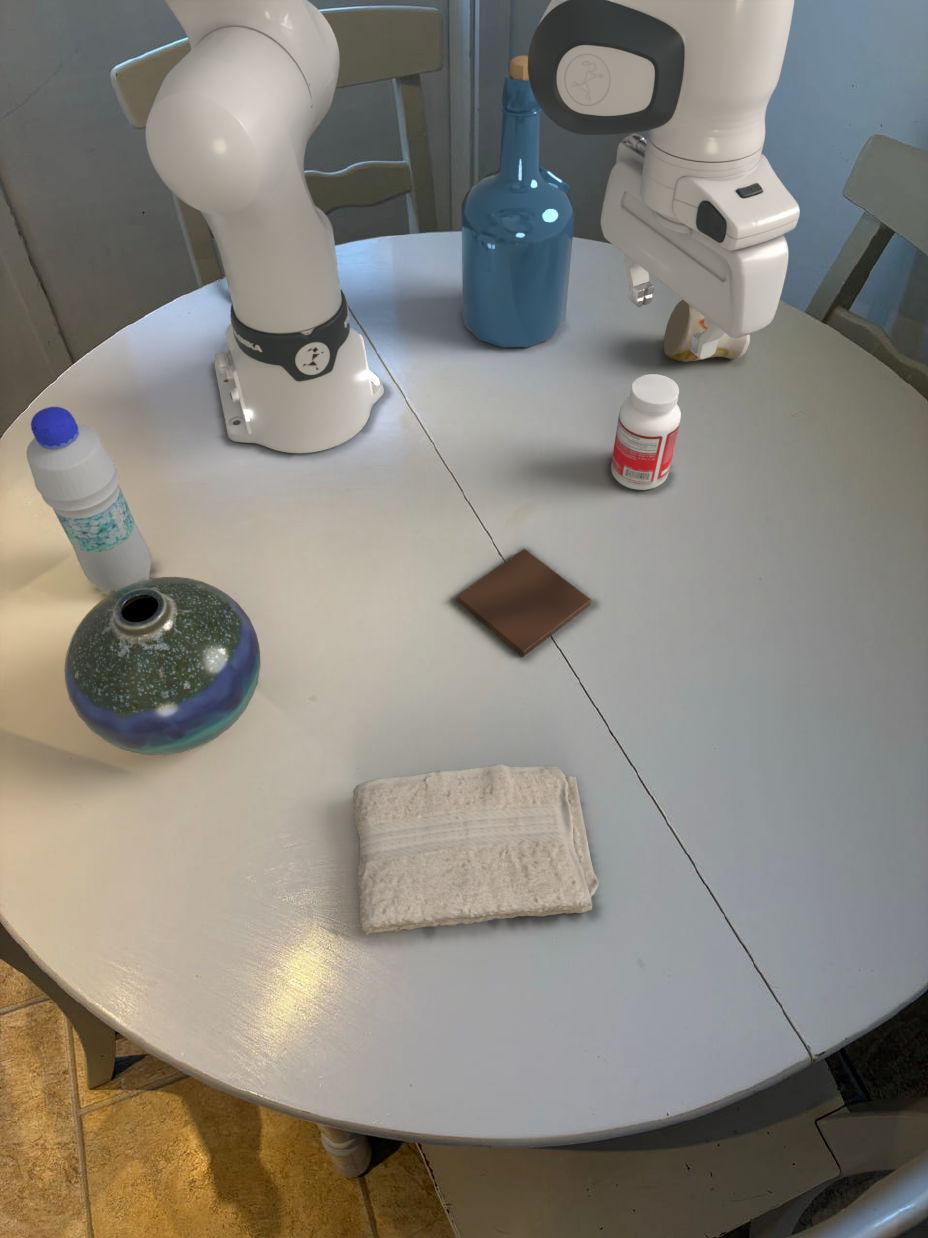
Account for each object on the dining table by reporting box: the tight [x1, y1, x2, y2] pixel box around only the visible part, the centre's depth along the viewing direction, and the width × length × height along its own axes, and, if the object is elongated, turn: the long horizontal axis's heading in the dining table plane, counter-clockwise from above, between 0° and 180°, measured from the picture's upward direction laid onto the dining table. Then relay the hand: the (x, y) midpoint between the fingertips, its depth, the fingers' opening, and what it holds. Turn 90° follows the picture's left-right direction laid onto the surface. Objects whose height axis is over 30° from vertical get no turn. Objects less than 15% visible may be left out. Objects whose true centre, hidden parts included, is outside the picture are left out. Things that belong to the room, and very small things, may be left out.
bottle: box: [26, 406, 153, 596], centre depth 79 cm, size 7×7×20 cm
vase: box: [63, 576, 261, 756], centre depth 73 cm, size 15×15×13 cm
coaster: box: [456, 548, 592, 657], centre depth 84 cm, size 9×9×1 cm
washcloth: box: [352, 763, 600, 936], centre depth 68 cm, size 12×18×3 cm, turn 97°
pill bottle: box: [610, 373, 682, 491], centre depth 91 cm, size 6×6×11 cm
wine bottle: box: [460, 55, 575, 348], centre depth 102 cm, size 14×13×30 cm
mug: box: [663, 299, 751, 363], centre depth 106 cm, size 8×10×10 cm
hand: (669, 326), depth 81 cm, fingers open, 8 cm apart
